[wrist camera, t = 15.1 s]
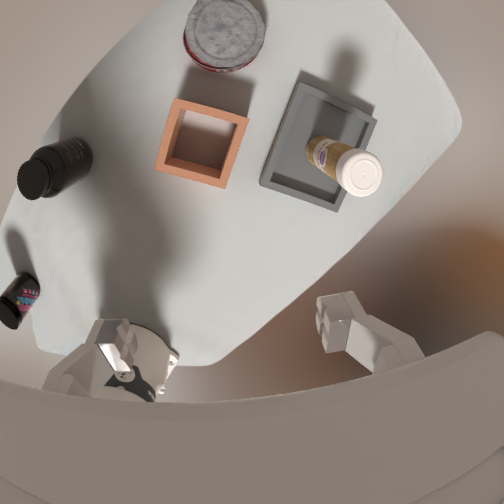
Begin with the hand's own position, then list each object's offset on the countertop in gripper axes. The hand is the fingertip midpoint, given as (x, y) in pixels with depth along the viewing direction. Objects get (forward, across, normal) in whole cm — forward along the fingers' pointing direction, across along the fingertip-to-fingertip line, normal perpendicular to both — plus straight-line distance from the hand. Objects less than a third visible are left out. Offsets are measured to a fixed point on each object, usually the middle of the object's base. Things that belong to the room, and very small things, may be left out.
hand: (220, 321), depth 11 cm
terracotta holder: (+29, +2, -4) cm, 30 cm away
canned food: (+30, -2, -18) cm, 35 cm away
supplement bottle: (+29, +22, -6) cm, 37 cm away
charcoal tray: (+29, -13, -2) cm, 32 cm away
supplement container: (+29, +44, +15) cm, 55 cm away
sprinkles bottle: (+28, -13, -1) cm, 31 cm away
